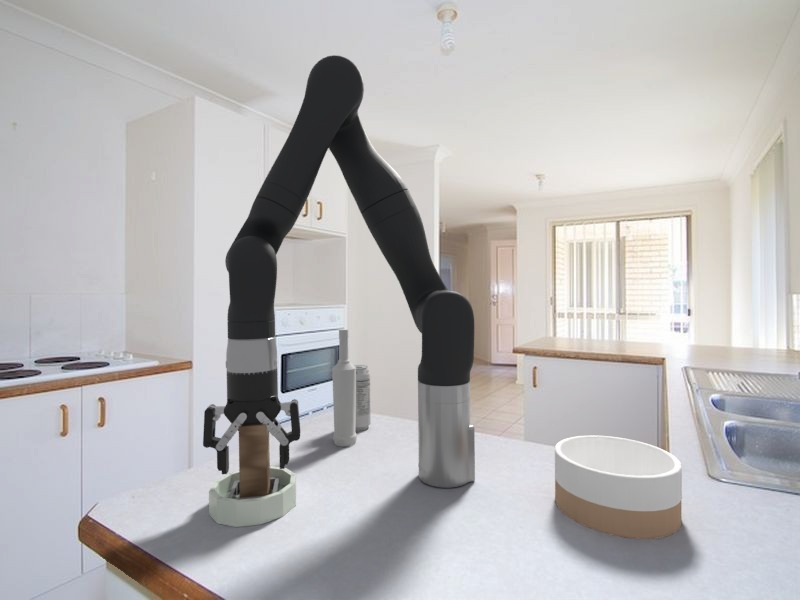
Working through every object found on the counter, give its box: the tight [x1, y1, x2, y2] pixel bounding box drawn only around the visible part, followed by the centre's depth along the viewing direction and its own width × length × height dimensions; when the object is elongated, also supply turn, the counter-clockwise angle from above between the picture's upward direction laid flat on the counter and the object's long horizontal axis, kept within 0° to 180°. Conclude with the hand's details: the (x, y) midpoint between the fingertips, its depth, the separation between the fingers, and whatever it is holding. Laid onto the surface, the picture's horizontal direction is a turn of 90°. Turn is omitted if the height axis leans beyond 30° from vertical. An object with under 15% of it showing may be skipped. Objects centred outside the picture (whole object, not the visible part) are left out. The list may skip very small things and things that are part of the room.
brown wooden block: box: [238, 424, 271, 498], centre depth 68 cm, size 4×4×12 cm
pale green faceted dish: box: [208, 465, 297, 528], centre depth 68 cm, size 13×13×4 cm
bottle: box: [331, 328, 358, 447], centre depth 95 cm, size 5×5×25 cm
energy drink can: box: [352, 364, 372, 432], centre depth 106 cm, size 6×6×15 cm
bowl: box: [554, 434, 683, 540], centre depth 66 cm, size 17×17×8 cm
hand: (254, 469), depth 68 cm, fingers open, 8 cm apart
